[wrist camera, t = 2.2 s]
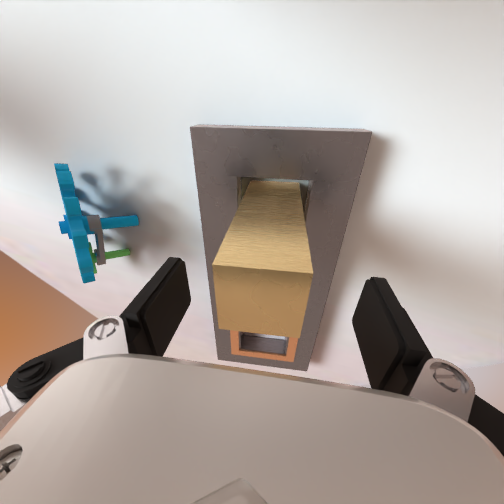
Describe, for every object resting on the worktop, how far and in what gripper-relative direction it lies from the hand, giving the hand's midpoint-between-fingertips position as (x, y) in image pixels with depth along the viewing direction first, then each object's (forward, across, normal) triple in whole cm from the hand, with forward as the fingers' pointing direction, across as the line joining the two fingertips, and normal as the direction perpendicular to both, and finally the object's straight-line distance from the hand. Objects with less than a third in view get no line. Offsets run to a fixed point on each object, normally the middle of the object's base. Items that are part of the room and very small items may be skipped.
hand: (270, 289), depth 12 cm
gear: (+10, +17, +1) cm, 20 cm away
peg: (+10, +1, -1) cm, 10 cm away
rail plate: (+10, +1, +7) cm, 12 cm away
